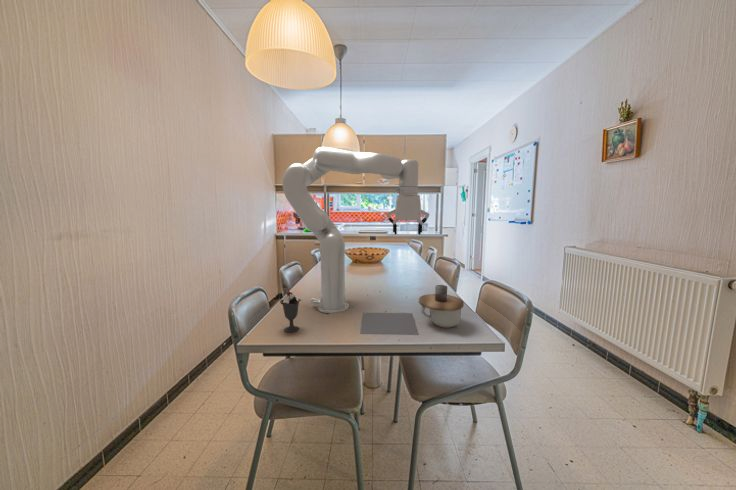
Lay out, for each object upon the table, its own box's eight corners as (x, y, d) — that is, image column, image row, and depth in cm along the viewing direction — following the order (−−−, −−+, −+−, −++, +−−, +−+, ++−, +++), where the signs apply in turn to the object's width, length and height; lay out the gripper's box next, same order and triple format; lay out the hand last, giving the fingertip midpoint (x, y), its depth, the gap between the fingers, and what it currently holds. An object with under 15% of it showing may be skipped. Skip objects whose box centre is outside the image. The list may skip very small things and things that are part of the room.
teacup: (457, 319, 106) (458, 298, 105) (464, 332, 95) (465, 309, 94) (419, 318, 107) (419, 297, 106) (421, 330, 96) (422, 307, 95)
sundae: (284, 325, 101) (283, 283, 99) (303, 325, 100) (302, 283, 98) (278, 333, 94) (276, 289, 92) (298, 333, 94) (297, 289, 92)
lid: (421, 310, 93) (422, 292, 92) (416, 296, 108) (417, 280, 107) (469, 311, 92) (469, 293, 91) (457, 296, 107) (457, 281, 106)
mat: (359, 335, 93) (359, 333, 93) (363, 313, 112) (363, 312, 112) (418, 336, 92) (419, 334, 92) (412, 314, 111) (412, 313, 111)
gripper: (386, 191, 112) (386, 234, 114) (431, 191, 111) (430, 235, 113) (386, 192, 119) (386, 233, 121) (428, 192, 118) (427, 233, 121)
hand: (407, 234), depth 117 cm, fingers open, 9 cm apart
